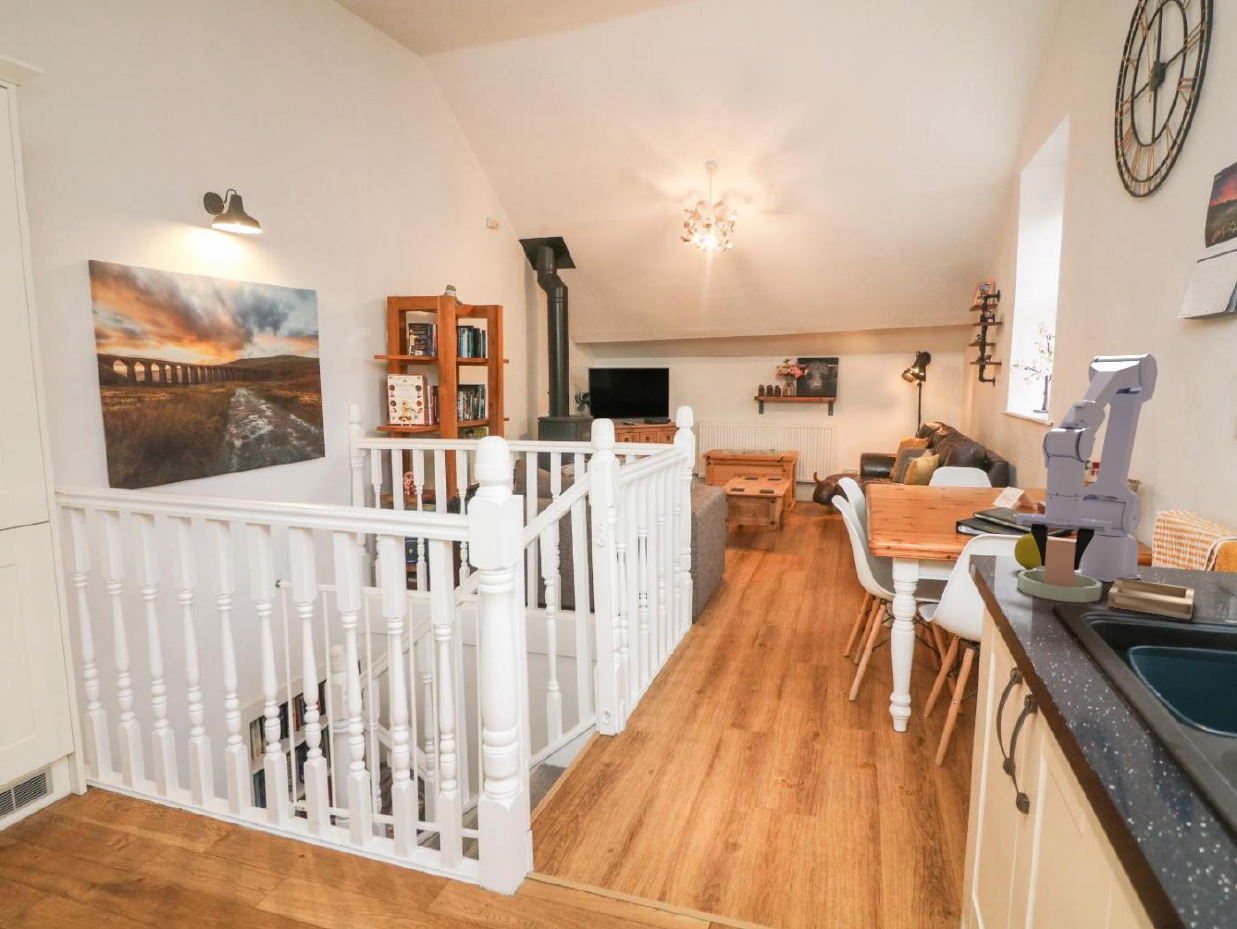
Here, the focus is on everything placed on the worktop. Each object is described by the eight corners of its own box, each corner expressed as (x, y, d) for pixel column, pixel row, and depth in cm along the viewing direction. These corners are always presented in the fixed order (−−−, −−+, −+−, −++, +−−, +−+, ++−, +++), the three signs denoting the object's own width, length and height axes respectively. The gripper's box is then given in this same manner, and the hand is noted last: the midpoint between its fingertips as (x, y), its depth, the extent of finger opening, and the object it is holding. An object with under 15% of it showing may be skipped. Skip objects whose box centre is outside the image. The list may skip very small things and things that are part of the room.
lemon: (1016, 573, 140) (1018, 534, 139) (1011, 566, 145) (1013, 529, 144) (1047, 575, 138) (1049, 536, 137) (1041, 568, 143) (1043, 531, 142)
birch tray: (1116, 590, 127) (1117, 577, 127) (1193, 602, 120) (1194, 588, 120) (1107, 606, 118) (1108, 592, 118) (1190, 620, 111) (1191, 605, 110)
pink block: (1046, 578, 130) (1048, 536, 129) (1073, 581, 127) (1076, 539, 126) (1043, 583, 126) (1046, 540, 125) (1072, 587, 124) (1075, 543, 123)
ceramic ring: (1052, 579, 135) (1053, 567, 135) (1117, 597, 123) (1118, 584, 123) (1002, 585, 131) (1003, 572, 131) (1064, 605, 119) (1065, 591, 119)
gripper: (1016, 493, 126) (1012, 565, 127) (1113, 500, 117) (1107, 577, 119) (1020, 489, 132) (1016, 558, 133) (1113, 495, 123) (1108, 569, 125)
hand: (1059, 567), depth 126 cm, fingers closed on pink block, 4 cm apart
